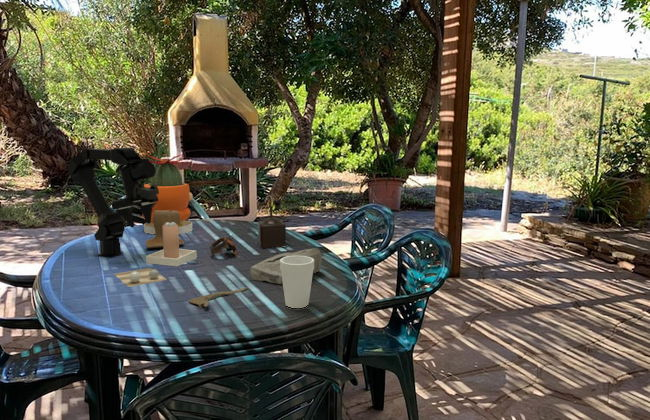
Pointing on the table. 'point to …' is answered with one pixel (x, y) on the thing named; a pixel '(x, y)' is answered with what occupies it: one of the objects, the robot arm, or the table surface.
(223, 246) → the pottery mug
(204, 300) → the jawbone
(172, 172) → the potted cactus
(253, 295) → the table surface
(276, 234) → the brown potted sapling
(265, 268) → the stone
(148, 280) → the beech board
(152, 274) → the grey pebble
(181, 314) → the table surface
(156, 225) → the brown flared stand
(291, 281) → the foam cup
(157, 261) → the cream dish
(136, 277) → the white pebble
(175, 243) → the terracotta jar
